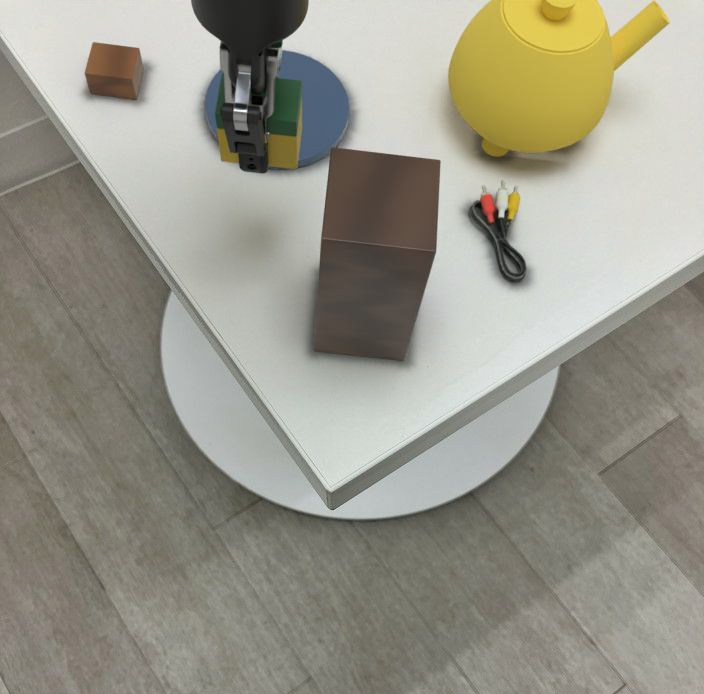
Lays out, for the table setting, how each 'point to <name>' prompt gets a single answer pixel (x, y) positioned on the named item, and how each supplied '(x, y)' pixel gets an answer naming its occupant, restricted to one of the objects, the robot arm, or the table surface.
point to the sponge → (272, 125)
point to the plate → (304, 105)
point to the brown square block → (114, 70)
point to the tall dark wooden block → (375, 251)
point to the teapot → (541, 70)
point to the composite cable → (500, 226)
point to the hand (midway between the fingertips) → (257, 145)
